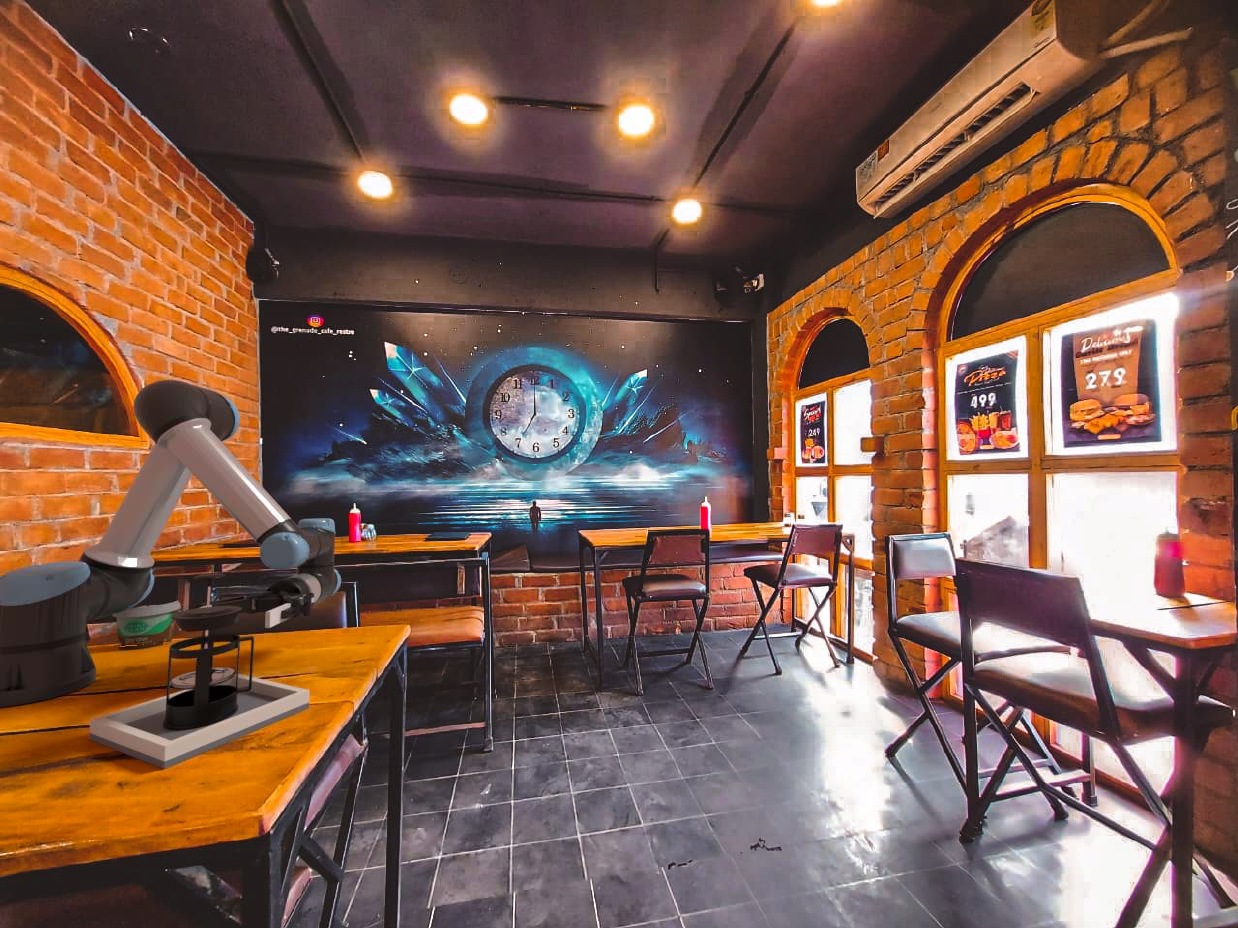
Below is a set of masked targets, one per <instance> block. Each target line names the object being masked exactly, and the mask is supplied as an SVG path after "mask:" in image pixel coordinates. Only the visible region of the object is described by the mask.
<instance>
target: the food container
mask: <svg viewBox="0 0 1238 928" xmlns="http://www.w3.org/2000/svg"><path fill="white" fill-rule="evenodd" d="M181 608H182V607H181V602H179V599H178V600H176V601H172V602H169V603H164V604H146V605H142V606H141V605H140V606H137V607H135V606H134V607H131V608H129V609H127V610H125V611H122V612H120V613H117V614H113V615H112V617H113V618H116V624H117V625H116V627H117V635H118V636H117V637H118V648H119V650H121V651H135V650H136V651H137V650H144V649H150V648H156V647H160V646H163V645H167V643H165V644H163V643H164V642H169V643H170V642H171V641H173V636H174V635H173V634H174V630H175V623H176V620H173V619H171V616H172V615H173V614H175V613H178V610H180V609H181ZM154 643H155V644H154ZM143 644H144V645H143ZM125 645H137V646H125ZM119 646H125V647H119Z"/></svg>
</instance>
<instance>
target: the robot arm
mask: <svg viewBox="0 0 1238 928" xmlns="http://www.w3.org/2000/svg"><path fill="white" fill-rule="evenodd" d="M133 413H134V416H135V418H136V421H137V423H138V424H139V426H140V427H141V428H142V430H143V431H144V432H145V433H146V434H147V435H148V437H149V438H150V439H151V440H152V441H153V442H154V444H153V446H152V448H151V449H150V452H149V453H148V455H147V457H146V458H145V460H144V462H143V464H142V466H141V467H140V469H139V471H138V473H137V475H136V476H135V478H134V480H133V482H132V483H131V484H130V487H129V489H128V491H127V493H126V494H125V496H124V498H123V500H122V501H121V503H120V505H119V507H118V509H117V510H116V512H115V514H114V515H113V518H112V520H111V521H110V522H109V525H108V526H107V528H106V530H105V532H104V534H103V536H102V538H101V539H100V541H99V542H98V543H96V544H93V545H91V546H87V547H86V548H85V549H84V550H83V552H82V554H81V555H80V557H79V559H78V560H77V561H75V560H74V561H71V560H70V561H68V560H67V561H56V562H47V563H42V564H34V565H29V566H23V567H20V568H16V569H12V570H10V571H8V572H5V573H4V574H2V575H1V576H0V708H4V707H12V706H19V705H20V706H21V705H26V704H30V703H35V702H39V701H40V702H42V701H44V700H49V699H53V698H57V697H60V696H64V695H67V694H70V693H74V692H77V691H79V690H81V689H84V688H86V687H88V686H90V685H92V684H93V683H94V682H96V679H97V668H96V665H95V662H94V660H93V658H92V656H91V653H90V650H89V648H88V646H87V644H86V633H87V632H86V631H87V630H86V629H87V622H90V621H93V620H97V619H100V618H104V617H107V616H111V615H112V616H113V614H117V613H120V612H122V611H125V610H127V609H129V608H134V607H135V606H137V605H138V604H140V603H141V602H143V600H145V599H146V598H147V597H148V595H150V593H151V592H152V589H153V587H154V584H155V575H154V574H153V573H154V571H153V566H154V564H155V560H154V558H153V557H152V555H151V552H152V551H153V549H154V547H155V545H156V544H157V541H158V539H159V538H160V536H161V534H162V533H163V531H164V529H165V526H167V523H168V522H169V519H170V517H171V516H172V514H173V512H174V510H175V508H176V506H177V505H178V503H179V501H180V499H181V498H182V496H183V493H184V492H185V490H186V488H187V486H188V484H189V482H190V481H191V479H192V477H193V476H194V477H195V478H196V479H197V480H198V481H199V483H201V485H202V486H203V487H204V488H205V489H206V490H207V491H208V492H209V493H210V495H212V496H213V497H214V499H215V500H216V501H217V502H218V503H219V504H220V505H221V507H222V508H224V509H225V510H226V512H227V513H228V514H229V515H230V516H231V517H232V518H233V519H234V520H235V521H236V522H237V523H238V524H239V526H240V527H241V528H242V529H243V530H244V531H245V532H246V533H247V534H248V535H249V536H250V537H251V538H252V540H253V541H255V543H256V544H257V545H258V546H259V547H260V548H259V557H260V560H261V562H262V563H263V565H264V566H266V567H267V568H269V569H271V570H274V571H275V570H276V571H284V570H285V571H286V570H292V569H296V574H295V575H291V576H288V577H287V578H283V579H281V580H277V581H275V582H273V583H271V584H270V586H269V587H268V588H267V589H266V591H262V592H261V593H258V594H251V595H250V594H249V593H248V594H247V593H243V594H241V595H239V596H234V597H228V598H223V599H218V600H212V601H210V607H212V606H238V607H241V608H242V611H241V612H239V613H238V615H239V614H242V613H243V614H247V615H248V614H249V615H253V614H258V613H264V614H265V618H264V619H265V621H264V628H265V629H270V628H272V627H274V626H276V625H279V624H281V623H283V622H285V621H288V620H290V619H291V618H297V617H300V615H303V617H309V616H312V607H314V605H315V604H317V603H319V602H323V601H326V600H327V599H328V598H329V597H331V596H333V595H334V594H335V593H337V591H338V590H339V589H340V588H341V583H342V578H341V577H342V576H341V575H340V573H339V571H338V570H337V569H335V549H336V548H335V546H336V545H335V544H336V542H335V540H336V538H335V537H336V534H337V533H336V526H335V521H334V520H333V519H332V518H320V517H318V518H303V519H300V520H299V521H298V523H296V522H295V521H294V520H293V519H292V518H291V517H290V516H289V515H288V513H287V512H286V511H285V510H284V509H283V508H282V506H280V504H278V502H277V501H276V500H275V499H274V498H273V497H272V496H271V494H269V493H268V491H267V490H266V489H265V488H264V487H263V486H262V485H261V484H260V483H259V482H258V481H257V479H256V478H255V476H253V475H252V474H251V473H250V471H249V470H248V469H247V468H246V467H245V466H244V465H243V464H242V463H241V462H240V461H239V460H238V458H236V456H235V455H234V454H233V453H232V452H231V451H230V449H229V448H227V447H226V445H225V444H224V443H223V442H224V441H226V440H228V439H230V438H232V437H233V436H234V435H235V434H236V433H237V432H238V429H239V427H240V424H241V415H240V412H239V410H238V407H237V405H236V404H235V403H234V402H233V401H232V400H231V399H230V398H228V397H227V396H225V395H223V394H221V393H218V392H217V391H215V390H211V389H208V388H204V387H201V386H197V385H194V384H190V383H188V382H186V381H183V380H177V379H176V380H175V379H162V380H156V381H154V382H151V383H149V384H147V385H145V386H144V387H143V388H142V389H140V390H139V392H138V393H137V394H136V395H135V398H134V400H133ZM203 607H207V602H203V603H196V604H194V606H193V609H196V608H203ZM253 607H254V609H253ZM178 631H180V632H181V631H182V630H181V629H180V628H179V627H178Z"/></svg>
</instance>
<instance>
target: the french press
mask: <svg viewBox="0 0 1238 928" xmlns="http://www.w3.org/2000/svg"><path fill="white" fill-rule="evenodd" d="M226 576H227V575H226V573H225V574H223V573H206V574H205V573H204V574H200V575H195V576H194V577H193V578H192V579H194V580H205V587H207V596H206V603H207V607H203V608H196V609H194V608H192V609H187V610H182V611H179V612H178V611H177V613H175V614H173V615H172V616H171V619H173V620H175V623H176V624H177V626H178V629H179V628H180V629H181V630H180V631H183V632H186V633H191V632H192V633H193V632H204V635H203V636H195V637H191V638H186V639H183V640H179V641H177V642H174V643H172V644H171V645H169V649H168V650H169V651H168V665H167V667H168V669H167V681H166V695H165V696H166V712H165V719H164V721H163V727H164V728H166V729H170V730H186V729H193V728H198V727H203V726H207V725H210V724H214V723H217V722H219V721H222V720H224V719H227V718H228V717H230V716H232V715H233V714H235V713H236V712H237V710H238V704H237V693H240V692H246V691H250V690H251V688H252V677H253V670H254V651H255V650H254V649H255V648H254V647H255V637H254V636H253V635H250V636H243V637H241V635H238V634H234V633H232V634H230V633H224V634H223V633H219V634H209V631H213V630H218V629H223V628H227V627H229V626H233V625H236V624H237V623H239V614H240V613H239V612H241V611H242V608H241V607H238V606H212V607H210V602H211V589H212V587H214V580H215V579H221V578H225V577H226ZM238 613H239V614H238ZM246 641H247V642H248V641H251V642H250V657H249V658H250V659H249V660H250V661H249V675H248V676H249V686H246V687H241V688H238V674H239V669H240V668H239V667H240V654H241V653H240V648H241V642H246ZM215 643H226V644H222V645H221V644H220V645H217V646H215V645H214V644H215ZM199 645H200V648H199V649H188V650H187V649H185V648H191V647H194V646H199ZM236 649H237V654H236V655H237V657H236V668H233V667H225V666H223V667H213V663H214V656H218V655H223V654H225V653H229V652H232V651H235V650H236ZM172 659H174V660H175V659H176V660H188V659H189V660H191V659H196V660H195V671H194V670H193V671H191V672H186V673H183V674H180V675H178V676H175V677H174V678H172V679H171V675H172V674H171V673H172ZM235 674H236V687H235V686H231V685H217V684H220V683H223V682H225V681H228V680H230V679H231V678H233V677H234V676H235ZM213 685H215V686H213ZM170 689H174V690H178V691H183V690H189V691H186V692H183V693H180V694H178V695H175V696H173V697H172V698H170V699H169V695H170V692H171V691H170ZM190 689H193V690H190Z"/></svg>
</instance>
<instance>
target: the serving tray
mask: <svg viewBox="0 0 1238 928" xmlns="http://www.w3.org/2000/svg"><path fill="white" fill-rule="evenodd" d="M217 685H231V686H235V687H236V673H235V676H234V677H233V678H231V679H230V680H228V681H225V682H223V683H220V684H217ZM213 686H215V685H213ZM246 686H249V675H245V674H241V673H238V688H241V687H246ZM190 690H193V689H190ZM186 691H189V690H179V691H177V692H173V693H169V699H170V698H172V697H173V696H175V695H178V694H180V693H183V692H186ZM310 692H311V691H310V690H309V689H306V688H305V689H304V688H300V687H296V686H292V685H288V684H284V683H280V682H276V681H275V682H274V681H272V680H271V681H270V680H268V679H267V680H266V679H262V678H258V677H253V676H252V688H251V690H250V691H246V692H240V693H237V704H238V710H237V712H236V713H235V714H233V715H232V716H230V717H228V718H227V719H224V720H222V721H219V722H217V723H214V724H210V725H207V726H203V727H198V728H193V729H186V730H170V729H166V728H164V727H163V721H164V719H165V712H166V696H167V695H165V696H161V697H158V698H155V699H151V700H149V701H145V702H141V703H139V704H136V705H132V706H130V707H129V706H128V707H125V708H122V709H118V710H117V711H113V712H110V713H106V714H103V715H100V716H97V717H93V718H89V720H90V721H89V739H88V740H90V741H92V742H95V743H97V744H99V745H102V746H105V747H106V748H109V749H112V750H114V751H117V752H120V753H123V754H124V755H128V756H130V757H133V758H135V759H138V760H140V761H142V762H145V763H147V764H150V765H153V766H156V767H158V768H161V769H163V770H167V769H168V768H170V767H173V766H175V765H178V764H180V763H182V762H184V761H187V760H190V759H191V758H194V757H196V756H199V755H201V754H203V753H206V752H209V751H211V750H213V749H215V748H217V747H218V748H219V747H220V746H223V745H224V744H225V745H226V744H227V743H229V742H232V741H235V740H237V739H240V738H241V737H244V736H247V735H248V734H250V733H253V732H256V731H258V730H260V729H263V728H265V727H268V726H271V725H272V724H274V723H277V722H279V721H281V720H284V719H287V718H288V717H291V716H294V715H295V714H296V715H297V714H299V713H301V712H303V711H305V710H308V709H310Z"/></svg>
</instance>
